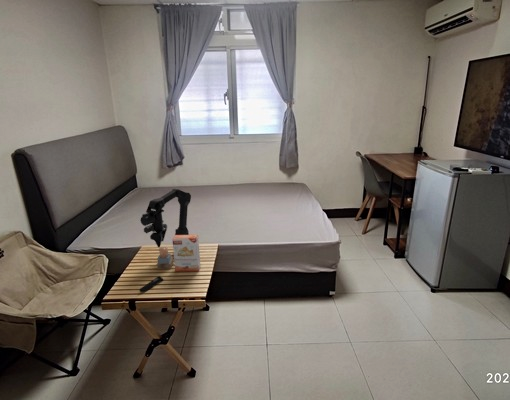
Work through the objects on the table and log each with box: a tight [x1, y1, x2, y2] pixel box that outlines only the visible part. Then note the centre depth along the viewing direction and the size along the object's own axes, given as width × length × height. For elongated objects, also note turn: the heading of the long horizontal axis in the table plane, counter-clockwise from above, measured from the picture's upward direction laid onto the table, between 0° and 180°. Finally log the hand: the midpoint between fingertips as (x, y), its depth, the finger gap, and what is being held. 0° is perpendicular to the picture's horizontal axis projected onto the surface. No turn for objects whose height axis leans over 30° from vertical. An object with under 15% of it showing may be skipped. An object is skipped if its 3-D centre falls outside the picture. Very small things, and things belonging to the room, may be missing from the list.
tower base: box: [156, 257, 174, 270], centre depth 190 cm, size 8×8×4 cm
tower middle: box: [156, 252, 172, 264], centre depth 189 cm, size 6×6×4 cm
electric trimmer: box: [138, 275, 164, 293], centre depth 168 cm, size 4×16×3 cm, turn 153°
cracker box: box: [171, 234, 201, 272], centre depth 183 cm, size 14×6×21 cm, turn 89°
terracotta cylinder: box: [158, 246, 169, 258], centre depth 188 cm, size 5×5×5 cm
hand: (160, 244), depth 193 cm, fingers open, 9 cm apart
